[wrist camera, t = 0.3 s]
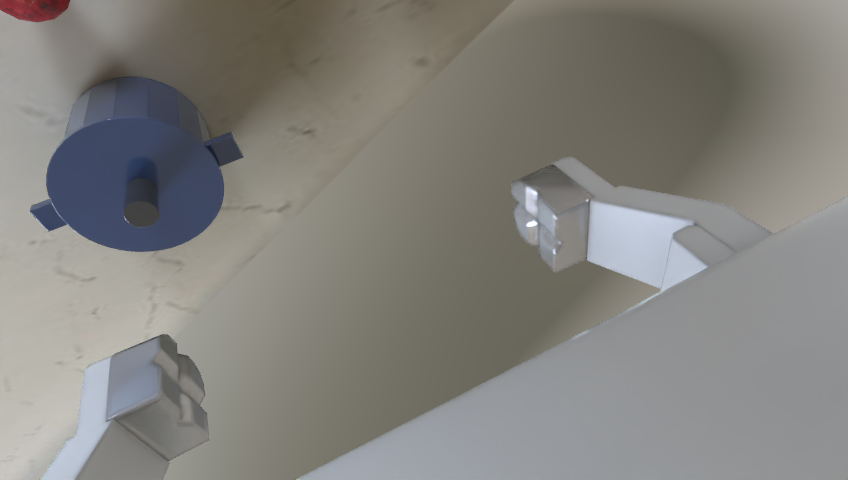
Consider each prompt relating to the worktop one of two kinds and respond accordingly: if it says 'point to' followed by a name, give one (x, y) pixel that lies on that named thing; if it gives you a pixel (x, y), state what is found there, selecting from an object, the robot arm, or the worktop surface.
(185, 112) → the pot
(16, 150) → the worktop surface
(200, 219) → the lid
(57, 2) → the onion
